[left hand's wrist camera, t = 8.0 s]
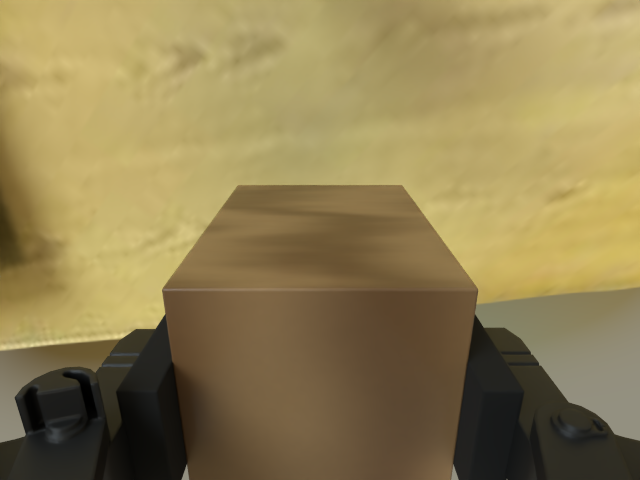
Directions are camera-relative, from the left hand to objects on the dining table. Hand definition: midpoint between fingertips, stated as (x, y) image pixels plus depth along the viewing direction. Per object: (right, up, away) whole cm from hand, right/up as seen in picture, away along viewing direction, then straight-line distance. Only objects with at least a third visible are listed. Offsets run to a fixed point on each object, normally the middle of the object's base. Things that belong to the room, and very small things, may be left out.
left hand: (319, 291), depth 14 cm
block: (0, +1, +2) cm, 2 cm away
